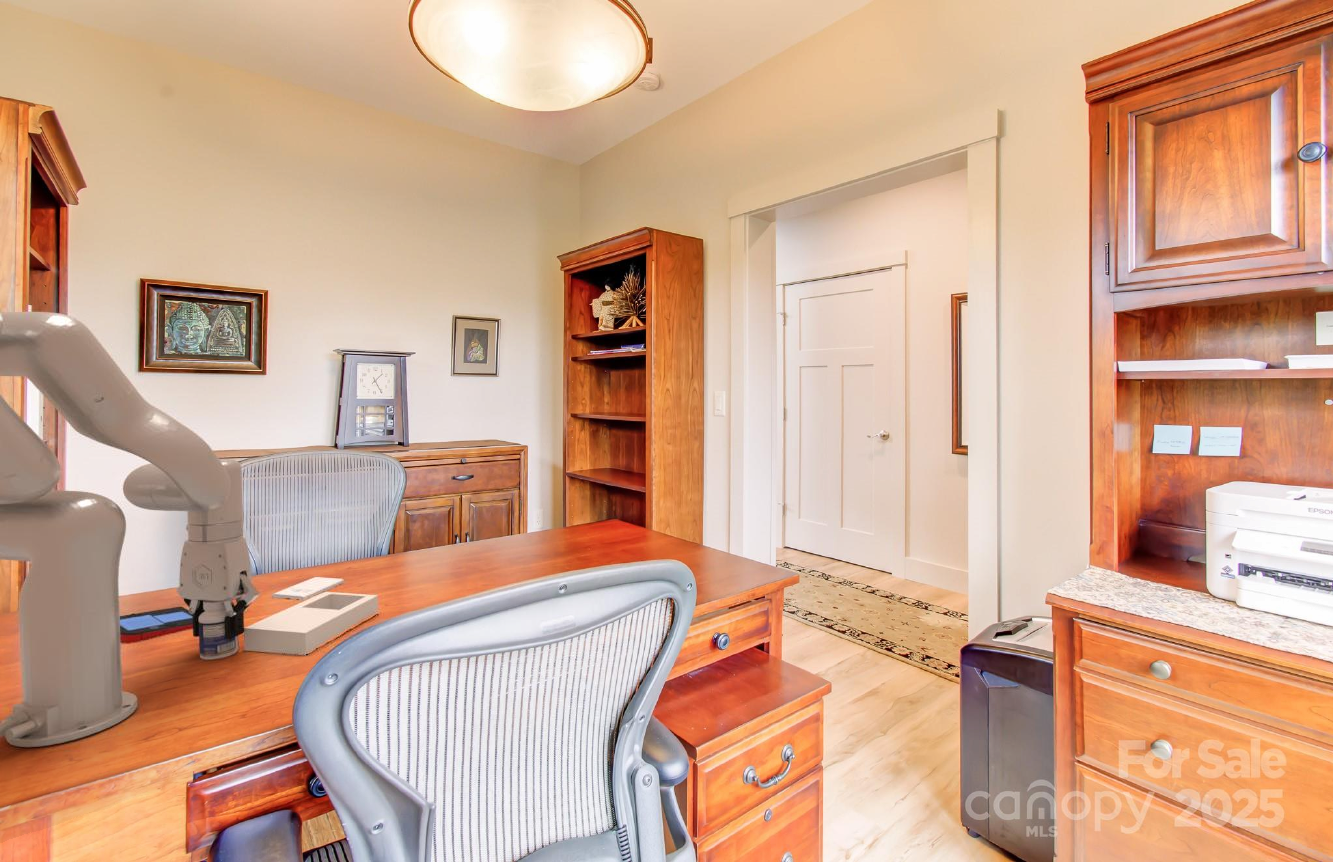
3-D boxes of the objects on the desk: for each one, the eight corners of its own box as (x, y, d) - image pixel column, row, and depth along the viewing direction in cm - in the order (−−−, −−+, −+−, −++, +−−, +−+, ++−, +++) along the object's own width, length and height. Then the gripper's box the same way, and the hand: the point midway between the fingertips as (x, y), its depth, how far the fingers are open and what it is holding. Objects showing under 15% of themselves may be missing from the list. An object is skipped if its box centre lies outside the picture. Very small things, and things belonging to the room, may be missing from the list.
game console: (210, 626, 116) (209, 615, 116) (124, 648, 105) (123, 636, 105) (183, 610, 124) (182, 600, 124) (100, 629, 113) (100, 618, 113)
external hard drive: (344, 585, 142) (303, 603, 130) (314, 583, 144) (271, 600, 131) (344, 579, 142) (303, 595, 130) (314, 576, 143) (271, 593, 131)
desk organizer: (305, 655, 102) (305, 632, 102) (244, 650, 104) (243, 628, 104) (378, 614, 122) (378, 595, 122) (325, 610, 124) (325, 591, 124)
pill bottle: (207, 649, 104) (206, 594, 104) (243, 646, 106) (242, 592, 105) (193, 662, 99) (191, 605, 99) (231, 658, 101) (229, 602, 100)
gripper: (150, 534, 99) (154, 640, 100) (241, 538, 96) (244, 647, 97) (192, 524, 106) (195, 623, 107) (278, 529, 104) (280, 630, 105)
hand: (218, 634), depth 102 cm, fingers closed on pill bottle, 5 cm apart
